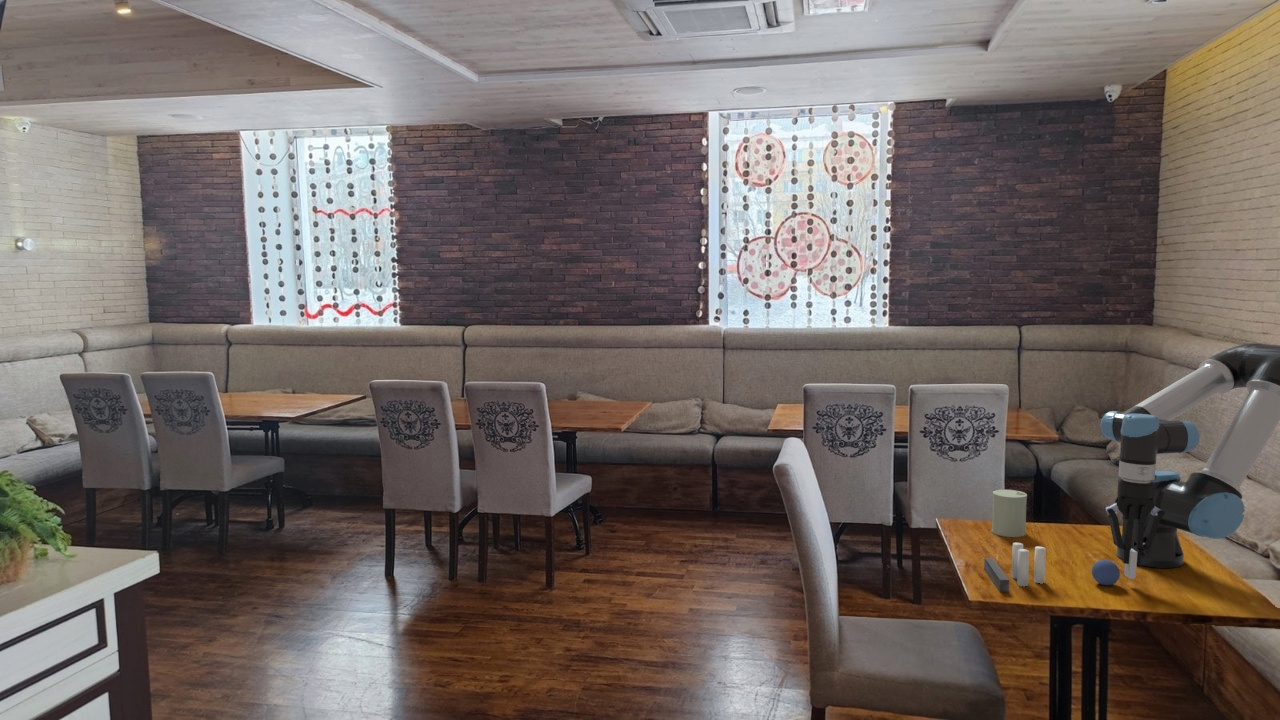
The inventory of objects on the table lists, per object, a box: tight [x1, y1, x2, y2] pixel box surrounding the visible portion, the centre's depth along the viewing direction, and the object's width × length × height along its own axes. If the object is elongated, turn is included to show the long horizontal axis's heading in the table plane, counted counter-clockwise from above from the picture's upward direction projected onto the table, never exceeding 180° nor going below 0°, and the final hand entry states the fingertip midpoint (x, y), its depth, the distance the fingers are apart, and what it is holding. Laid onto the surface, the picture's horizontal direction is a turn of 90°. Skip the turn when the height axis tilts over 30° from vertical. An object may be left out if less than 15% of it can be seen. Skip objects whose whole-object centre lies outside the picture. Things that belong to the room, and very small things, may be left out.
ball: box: [1091, 559, 1121, 586], centre depth 212 cm, size 6×6×6 cm
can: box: [991, 489, 1028, 538], centre depth 254 cm, size 9×9×12 cm
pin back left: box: [1016, 548, 1030, 588], centre depth 212 cm, size 2×2×8 cm
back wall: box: [983, 557, 1010, 593], centre depth 216 cm, size 2×16×3 cm, turn 171°
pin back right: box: [1011, 542, 1024, 580], centre depth 217 cm, size 2×2×8 cm
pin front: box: [1033, 545, 1047, 585], centre depth 214 cm, size 2×2×8 cm
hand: (1129, 576), depth 211 cm, fingers closed
